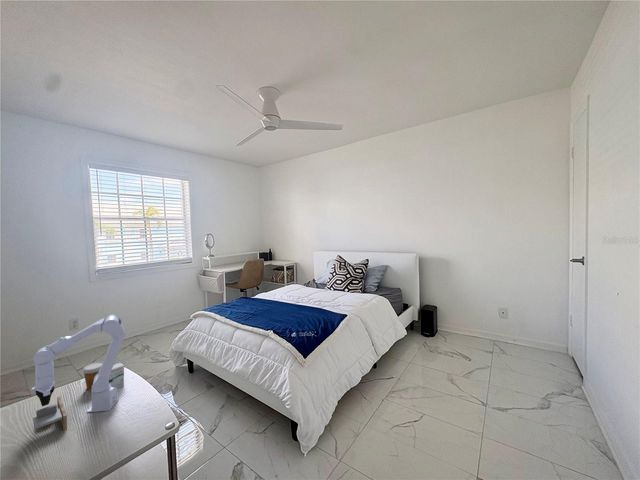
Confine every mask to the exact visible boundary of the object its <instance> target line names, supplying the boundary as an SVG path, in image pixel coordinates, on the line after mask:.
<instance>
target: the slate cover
mask: <svg viewBox="0 0 640 480" xmlns="http://www.w3.org/2000/svg"><path fill="white" fill-rule="evenodd" d="M35 415H36V416H35V417H33V418H32V423H33V424H32V425H33V430H38V429H40V428H42V427H45V426H47V425H51V424H53V423H56V422H58V421H61V419H62V416H61V412H60V409H58V408H57V403H55V404H52V405H51V404H50V405H49V406H46V407H44V408H40V409H38V410H35ZM50 423H51V424H50Z"/></svg>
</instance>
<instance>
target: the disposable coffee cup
mask: <svg viewBox="0 0 640 480" xmlns="http://www.w3.org/2000/svg"><path fill="white" fill-rule="evenodd" d="M102 364H103V361H94V362H92V363H89V364H87V365H85V366H84V367H83V369H82V372H83V374H84V381H85V387H86V389H87V390H88V391H92V385H93V382H94V377H95V375H96V374H97V373H98V372H99V370H100V368H101V366H102Z"/></svg>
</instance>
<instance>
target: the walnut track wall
mask: <svg viewBox="0 0 640 480" xmlns="http://www.w3.org/2000/svg"><path fill="white" fill-rule="evenodd" d="M56 401H57V402H56V405H57V409H60V412H61V416H62V419H60V422H61V426H62V429H63V431H65V430H68V415H67V412H66V409H65V406H64V403H63V401H62V397H61V396H60V395H59V396H57V400H56Z"/></svg>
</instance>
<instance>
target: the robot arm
mask: <svg viewBox="0 0 640 480" xmlns="http://www.w3.org/2000/svg"><path fill="white" fill-rule="evenodd" d="M103 332H104V333H106V334H108V335H110V336H111V337H112V340H111V342H110V344H109V346H108V350H107V352H106V354H105V356H104V359H103V361H102V362H103V364H102V366H101V368H100V370H99V372H98V373H97V374H96V375H95V377H94V382H93V385H92V390H91V407H89V409H87V410H86V413H95V412H107V411H109V410H111V409H112V408H113V407H114V405H116V404H117V402H118V401H119V399H118V388H116V387H112V386H111V384H110V383H109V378H110V373H111V370H112V368H113V365H115V363H116V360H117V357H118V355H119V352H120V349H121V347H122V344H123V342H124V340H125V337H126V330H125V328H124V325H123V322H122V319H121V318H120V317H119V316H118V315H116V314H110V315H108V316H106V317H103V318H101V319H99V320H98V321H95V322H94V323H92V324H91V325H89V326H86V327H85V328H83V329H82V330H80V331H78V332H76V333H75V334H73V335H66V336H64V337H63V336H62V337H58V339H57V340H56V341H54V342H53V343H51V344H47V345H46V346H43V347H41V348H40V349H38V351H36V352H35V354H34V356H33V360H32V361H33V362H34V365H35V367H34V369H35V370H34V372H35V373H34V374H35V379H34V380H35V386H34V387H31V392H33V391H35V395H36V396H37V397H38V399H39V401H40V402H39V403H40V405H41V406H42V407H44V406H48V405H49V404H50V402H51V397H52V395H53V393H54V391H55V386H54V385H55V384H56V381H55V363H54V357H56V356H59V355H60V354H62V353H65V352H66V351H67V350H69V349H72V348H73V347H74V346H75V343H77V342H78V341H81V340H83V339H85V338H86V337H88V336H90V335H93V333H99V334H101V333H103Z"/></svg>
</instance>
